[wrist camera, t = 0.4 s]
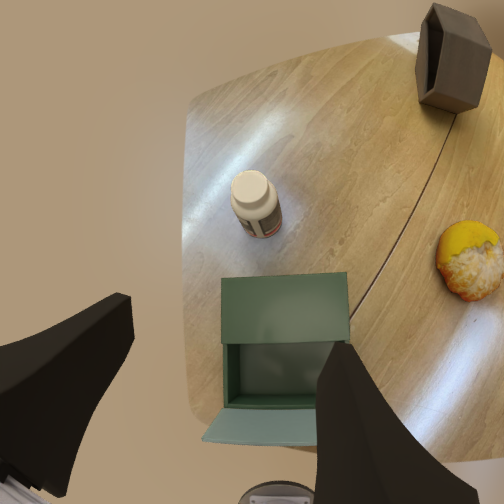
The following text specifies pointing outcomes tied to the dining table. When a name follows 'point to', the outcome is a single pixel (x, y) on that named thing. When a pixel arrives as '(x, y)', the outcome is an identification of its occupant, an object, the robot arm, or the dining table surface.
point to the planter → (451, 60)
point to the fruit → (470, 259)
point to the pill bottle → (256, 204)
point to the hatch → (263, 427)
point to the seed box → (280, 337)
